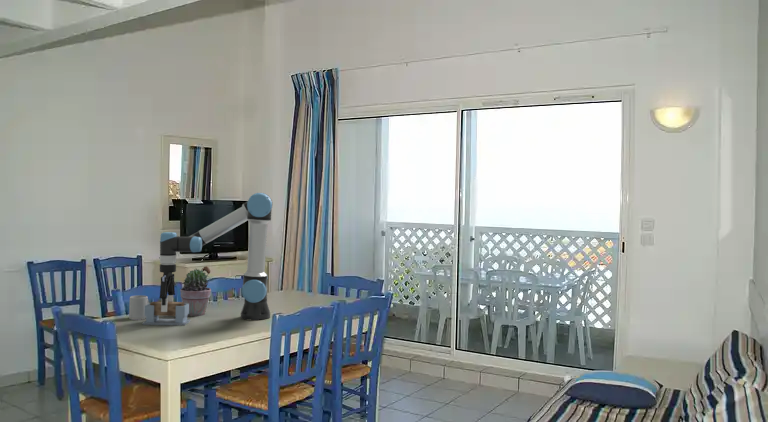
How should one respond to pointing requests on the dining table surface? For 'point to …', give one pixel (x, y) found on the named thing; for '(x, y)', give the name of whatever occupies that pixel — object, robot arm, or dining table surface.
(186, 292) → the potted plant
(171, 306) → the tapered block
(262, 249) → the robot arm
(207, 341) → the dining table surface
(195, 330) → the dining table surface
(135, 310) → the mug
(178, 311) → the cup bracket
